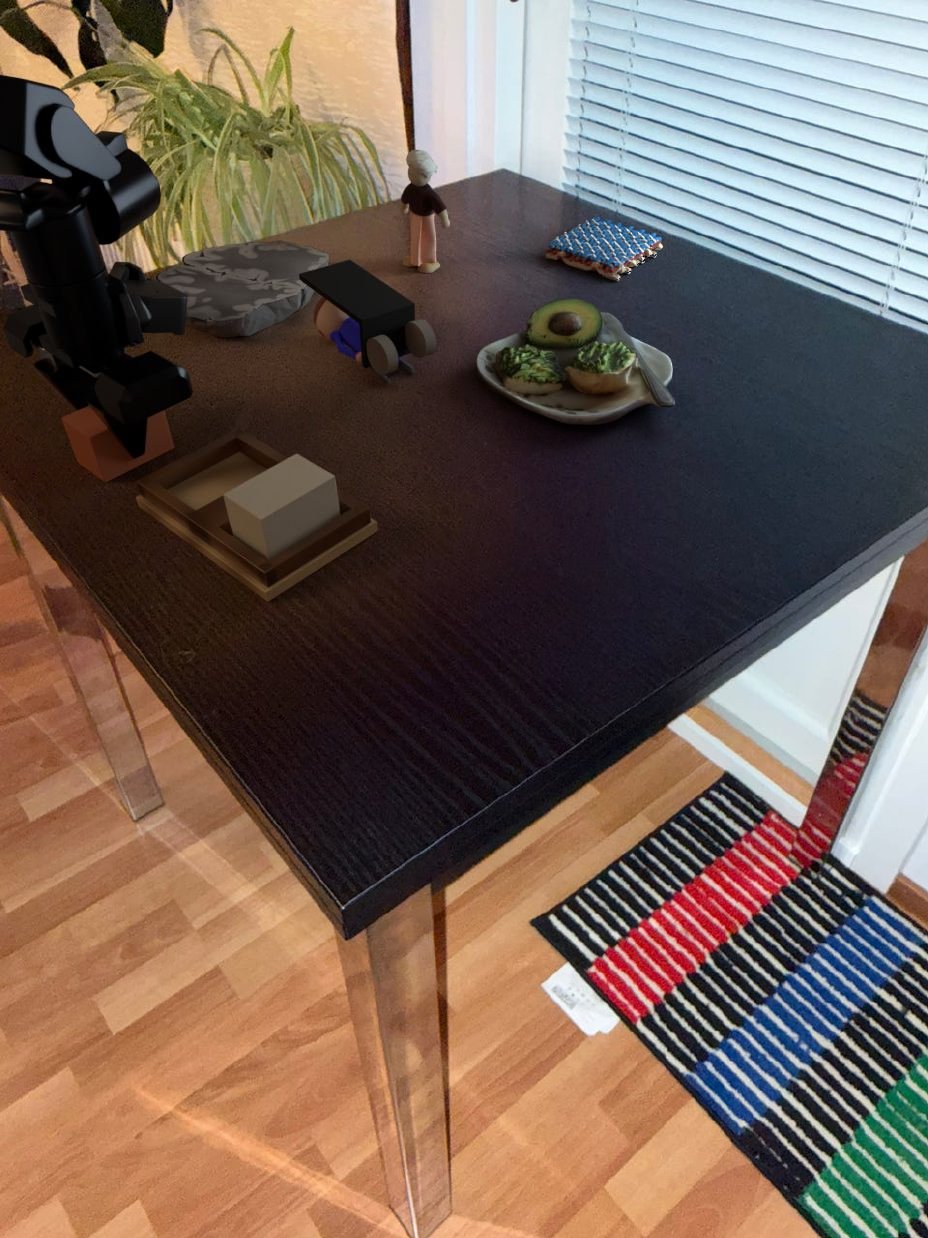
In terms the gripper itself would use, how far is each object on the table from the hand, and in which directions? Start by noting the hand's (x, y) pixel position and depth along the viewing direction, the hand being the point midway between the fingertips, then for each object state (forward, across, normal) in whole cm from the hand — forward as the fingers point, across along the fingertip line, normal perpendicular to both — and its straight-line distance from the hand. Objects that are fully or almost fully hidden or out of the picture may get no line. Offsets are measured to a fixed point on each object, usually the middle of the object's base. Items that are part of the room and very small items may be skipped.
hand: (123, 445), depth 81 cm
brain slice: (+1, +16, -25) cm, 30 cm away
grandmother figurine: (+1, +7, -44) cm, 45 cm away
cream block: (0, -20, -2) cm, 20 cm away
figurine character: (+1, -4, -26) cm, 26 cm away
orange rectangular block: (+1, 0, 0) cm, 1 cm away
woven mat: (+1, -6, -60) cm, 61 cm away
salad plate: (+1, -21, -36) cm, 42 cm away
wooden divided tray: (+1, -16, -2) cm, 16 cm away
